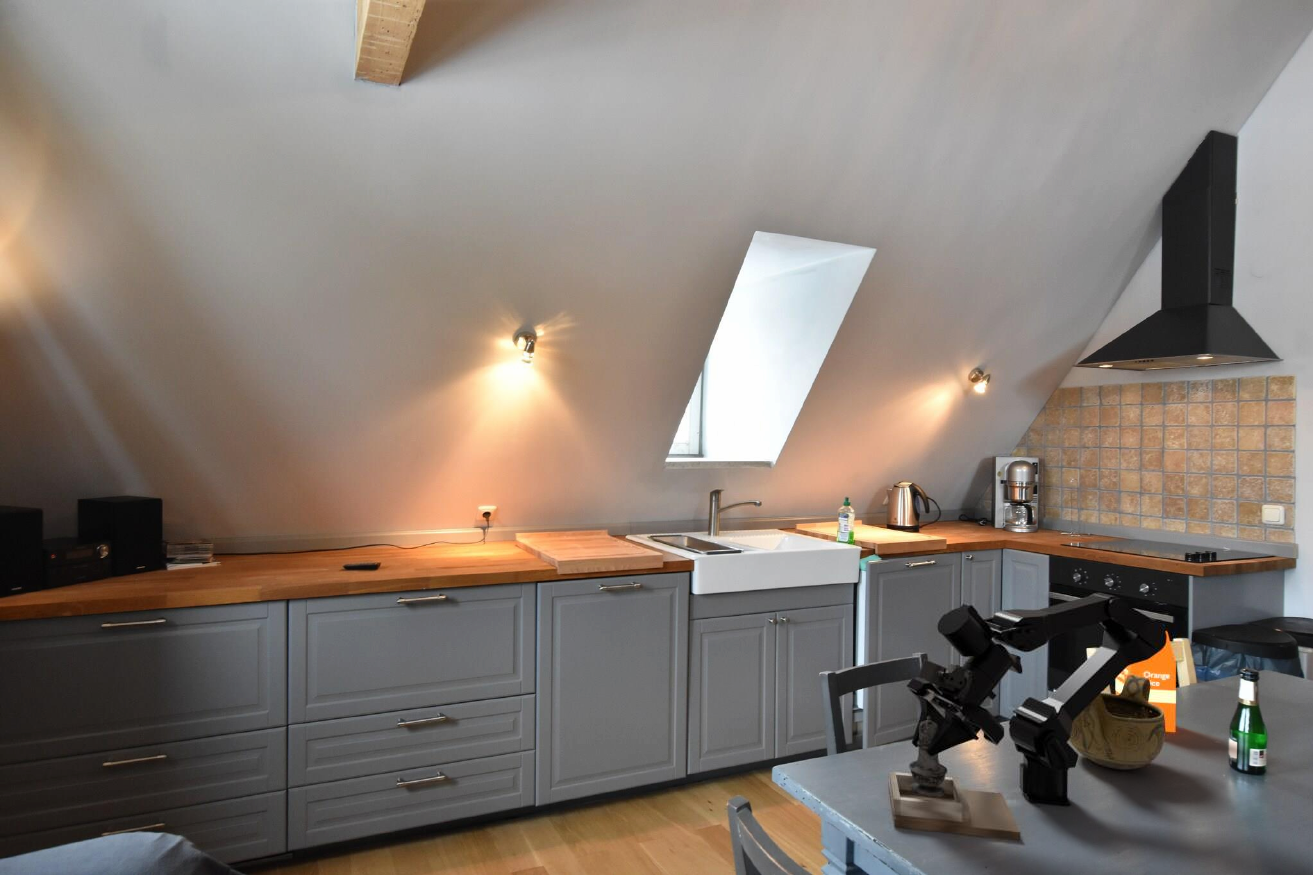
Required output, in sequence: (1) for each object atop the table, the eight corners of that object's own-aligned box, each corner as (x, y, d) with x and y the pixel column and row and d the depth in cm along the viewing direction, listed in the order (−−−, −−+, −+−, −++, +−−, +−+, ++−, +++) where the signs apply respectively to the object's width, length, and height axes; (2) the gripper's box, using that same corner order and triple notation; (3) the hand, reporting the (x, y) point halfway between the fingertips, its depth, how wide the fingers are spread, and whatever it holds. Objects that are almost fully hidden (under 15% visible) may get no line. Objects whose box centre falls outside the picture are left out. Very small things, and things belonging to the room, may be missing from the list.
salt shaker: (954, 795, 130) (956, 720, 130) (922, 800, 128) (923, 723, 128) (932, 780, 135) (933, 707, 135) (901, 784, 134) (902, 710, 134)
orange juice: (1115, 717, 179) (1115, 625, 179) (1158, 720, 178) (1159, 627, 178) (1130, 729, 171) (1131, 633, 171) (1176, 732, 170) (1177, 635, 170)
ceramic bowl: (1131, 793, 139) (1132, 704, 140) (1035, 761, 153) (1036, 680, 153) (1188, 764, 153) (1189, 683, 153) (1095, 737, 166) (1095, 663, 166)
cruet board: (1001, 800, 136) (1001, 778, 136) (1020, 840, 122) (1020, 815, 122) (888, 789, 140) (888, 768, 140) (894, 826, 126) (894, 803, 126)
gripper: (916, 629, 142) (859, 699, 139) (987, 657, 124) (924, 737, 121) (955, 671, 144) (900, 741, 141) (1031, 704, 126) (970, 785, 123)
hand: (921, 749), depth 131 cm, fingers closed on salt shaker, 4 cm apart
